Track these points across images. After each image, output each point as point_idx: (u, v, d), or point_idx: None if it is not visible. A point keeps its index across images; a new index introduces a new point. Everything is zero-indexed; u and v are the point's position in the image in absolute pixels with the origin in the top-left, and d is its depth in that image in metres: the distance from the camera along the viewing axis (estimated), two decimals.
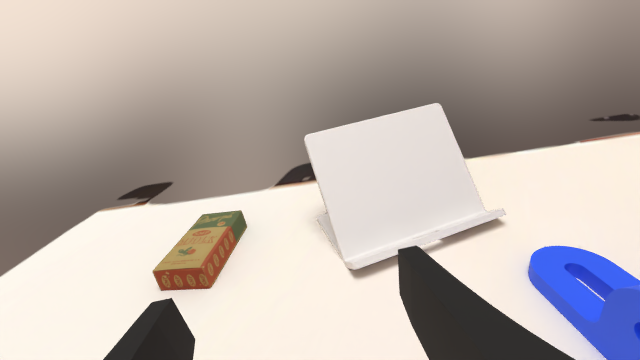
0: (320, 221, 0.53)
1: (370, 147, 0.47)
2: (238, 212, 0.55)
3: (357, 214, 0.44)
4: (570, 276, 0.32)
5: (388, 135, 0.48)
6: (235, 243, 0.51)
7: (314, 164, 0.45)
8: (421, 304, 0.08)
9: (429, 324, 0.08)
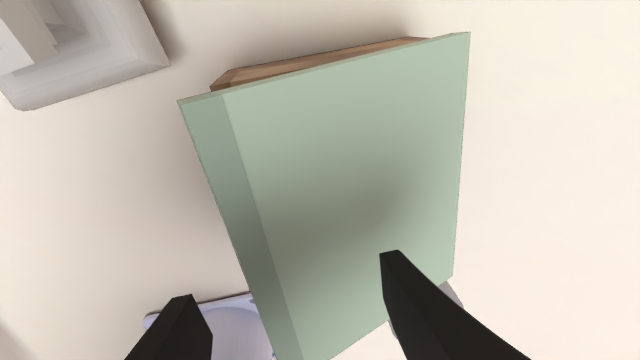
0: None
1: None
2: None
3: None
4: None
5: None
6: None
7: None
8: (400, 309, 0.08)
9: (407, 328, 0.08)
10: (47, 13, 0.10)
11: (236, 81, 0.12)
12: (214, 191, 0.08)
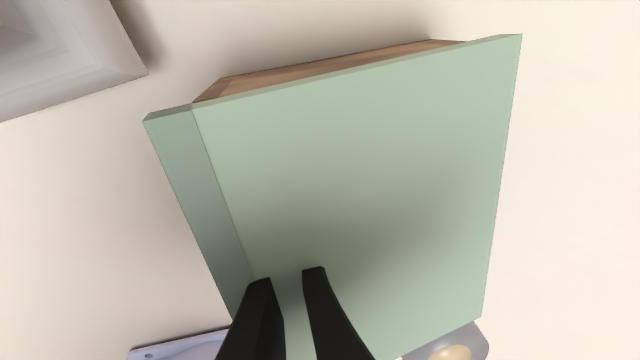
0: None
1: None
2: None
3: None
4: None
5: None
6: None
7: None
8: None
9: None
10: None
11: (226, 95, 0.09)
12: (186, 215, 0.07)
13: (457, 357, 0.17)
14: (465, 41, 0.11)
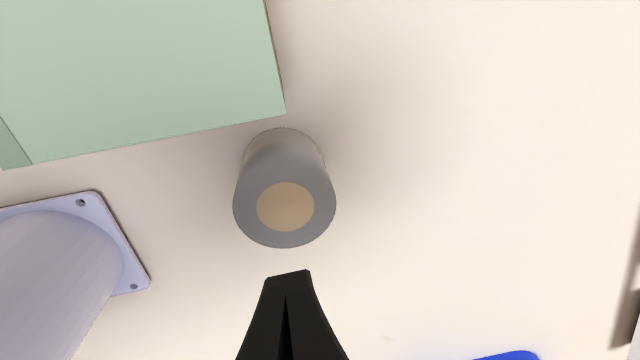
0: None
1: None
2: None
3: None
4: None
5: None
6: None
7: None
8: None
9: None
10: None
11: None
12: None
13: (296, 204, 0.14)
14: None
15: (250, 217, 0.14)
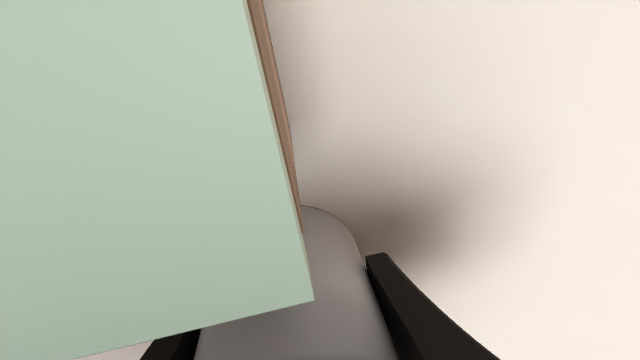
0: None
1: None
2: None
3: None
4: None
5: None
6: None
7: None
8: (384, 312, 0.08)
9: (391, 333, 0.08)
10: None
11: None
12: None
13: None
14: None
15: None
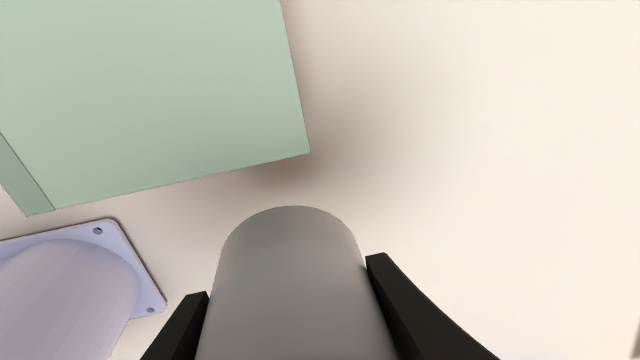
0: None
1: None
2: None
3: None
4: None
5: None
6: None
7: None
8: (384, 312, 0.08)
9: (391, 333, 0.08)
10: None
11: None
12: None
13: None
14: None
15: None
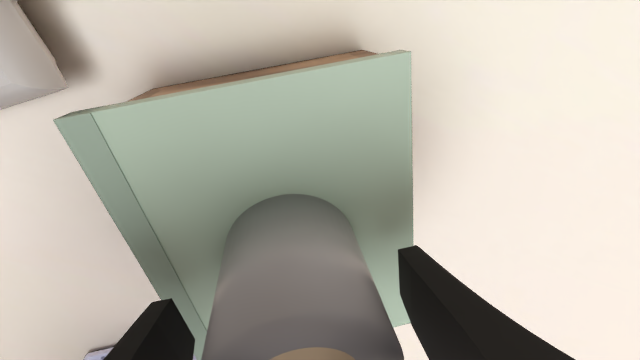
0: None
1: None
2: None
3: None
4: None
5: None
6: None
7: None
8: (421, 304, 0.08)
9: (429, 324, 0.08)
10: None
11: None
12: (98, 194, 0.09)
13: None
14: None
15: None
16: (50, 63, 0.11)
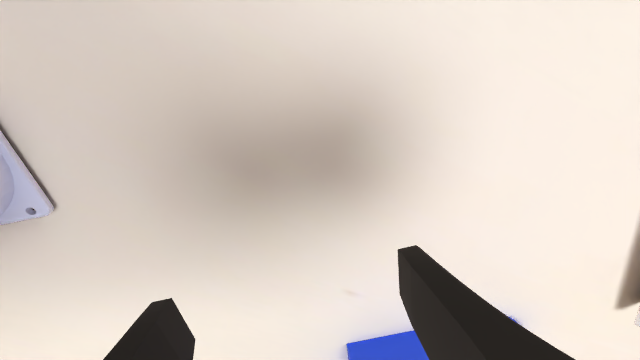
0: None
1: None
2: None
3: None
4: None
5: None
6: None
7: None
8: (421, 304, 0.08)
9: (429, 324, 0.08)
10: None
11: None
12: None
13: None
14: None
15: None
16: None
